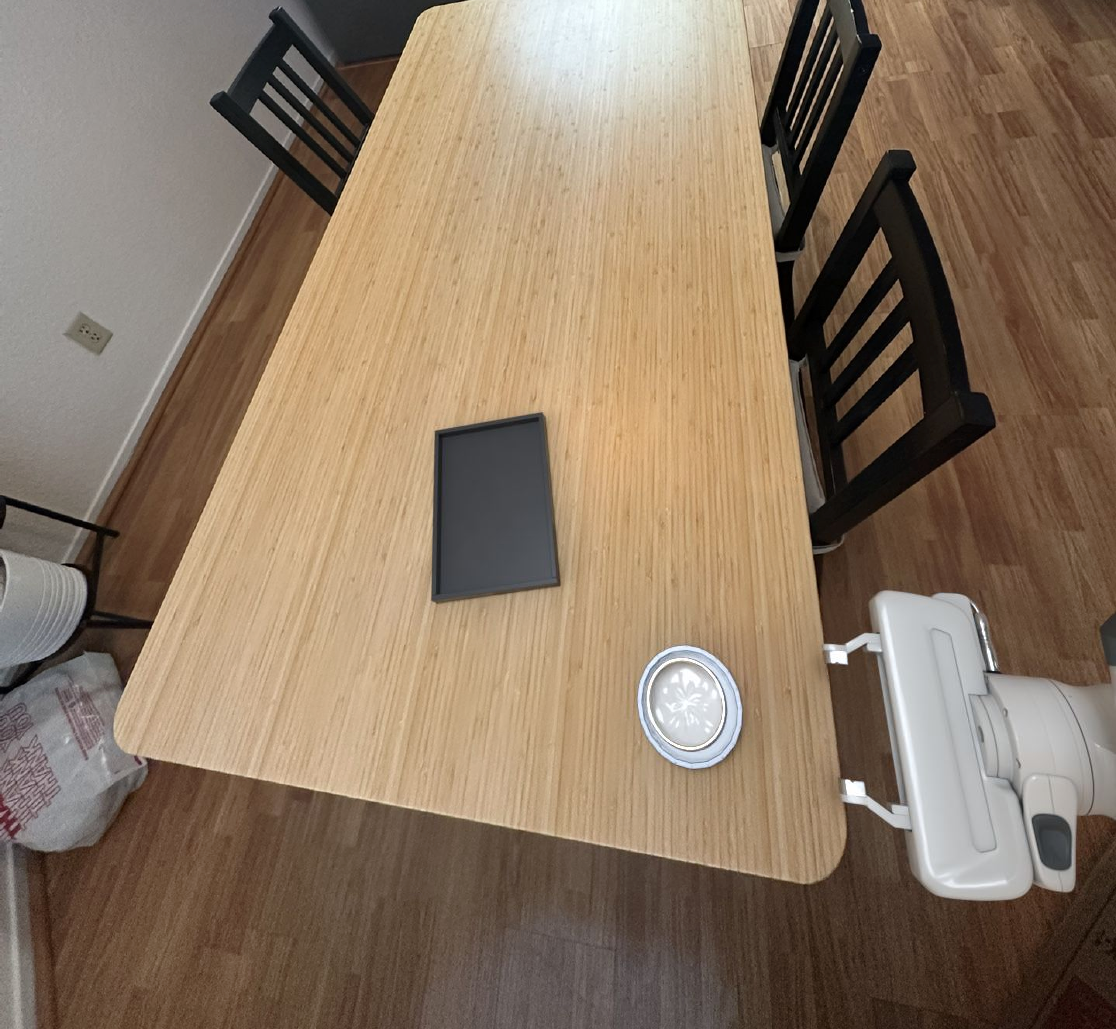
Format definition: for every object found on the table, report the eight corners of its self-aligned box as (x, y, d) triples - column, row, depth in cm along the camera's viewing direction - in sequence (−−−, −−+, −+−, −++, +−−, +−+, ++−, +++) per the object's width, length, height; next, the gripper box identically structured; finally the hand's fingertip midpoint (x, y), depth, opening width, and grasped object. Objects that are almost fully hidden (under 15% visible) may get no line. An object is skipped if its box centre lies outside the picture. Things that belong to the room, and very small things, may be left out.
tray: (560, 585, 73) (557, 583, 72) (436, 603, 75) (430, 600, 74) (545, 417, 86) (542, 411, 84) (439, 435, 87) (434, 430, 86)
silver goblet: (642, 689, 66) (628, 683, 54) (697, 651, 67) (695, 637, 55) (681, 762, 62) (674, 773, 50) (739, 721, 63) (746, 722, 51)
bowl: (752, 760, 61) (754, 762, 58) (650, 771, 62) (647, 774, 59) (726, 643, 67) (727, 639, 63) (634, 655, 68) (629, 651, 64)
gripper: (994, 589, 53) (819, 577, 56) (1081, 924, 42) (858, 888, 45) (969, 600, 58) (810, 589, 61) (1041, 901, 47) (843, 870, 50)
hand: (831, 718), depth 53 cm, fingers open, 8 cm apart
